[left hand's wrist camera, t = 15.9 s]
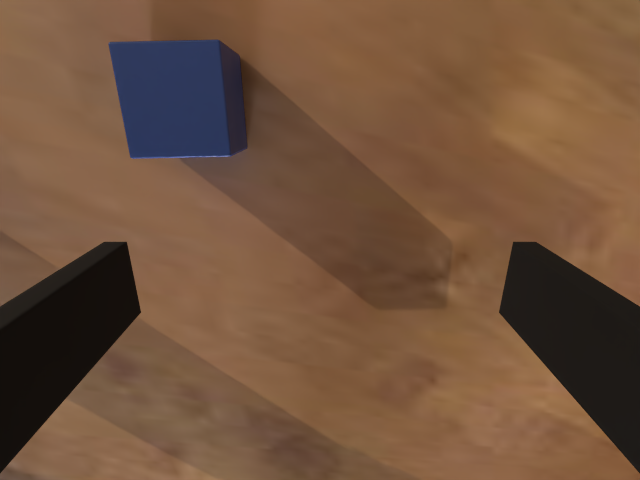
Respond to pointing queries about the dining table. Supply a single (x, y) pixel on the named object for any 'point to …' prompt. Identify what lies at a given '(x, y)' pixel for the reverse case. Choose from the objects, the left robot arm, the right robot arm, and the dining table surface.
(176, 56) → the block
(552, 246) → the dining table surface
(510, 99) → the dining table surface
